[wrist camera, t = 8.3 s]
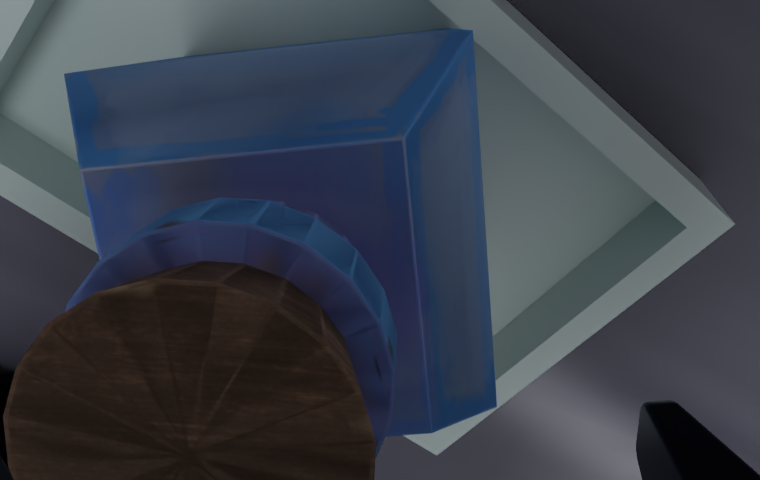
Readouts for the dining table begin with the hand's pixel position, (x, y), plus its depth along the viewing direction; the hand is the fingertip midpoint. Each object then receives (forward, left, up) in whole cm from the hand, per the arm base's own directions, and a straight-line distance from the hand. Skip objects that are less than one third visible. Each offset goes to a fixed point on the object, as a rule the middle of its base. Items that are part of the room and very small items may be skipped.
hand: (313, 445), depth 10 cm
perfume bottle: (0, 0, -9) cm, 9 cm away
